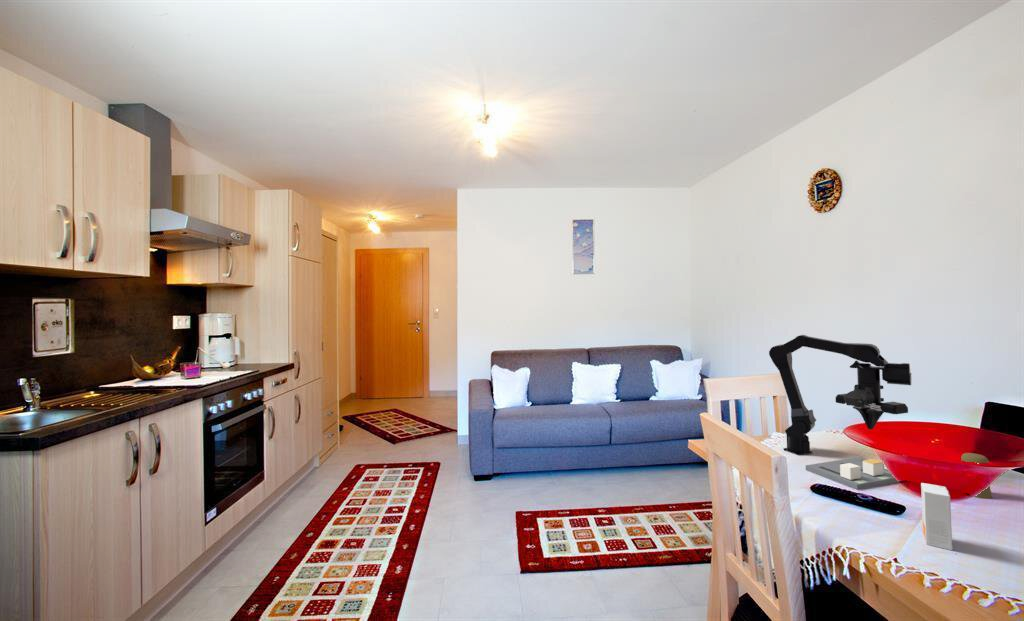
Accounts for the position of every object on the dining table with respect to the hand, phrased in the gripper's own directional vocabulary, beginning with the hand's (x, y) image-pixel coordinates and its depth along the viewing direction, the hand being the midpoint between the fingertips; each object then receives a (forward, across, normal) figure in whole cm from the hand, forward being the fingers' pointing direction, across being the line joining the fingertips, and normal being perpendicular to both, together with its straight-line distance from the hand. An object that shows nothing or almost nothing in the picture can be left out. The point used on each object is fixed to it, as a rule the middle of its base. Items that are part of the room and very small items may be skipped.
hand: (870, 429), depth 139 cm
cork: (+12, +24, +4) cm, 27 cm away
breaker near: (+10, +8, -20) cm, 24 cm away
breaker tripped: (+10, +8, -11) cm, 17 cm away
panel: (+12, +4, -11) cm, 17 cm away
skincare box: (+12, +37, -34) cm, 52 cm away
